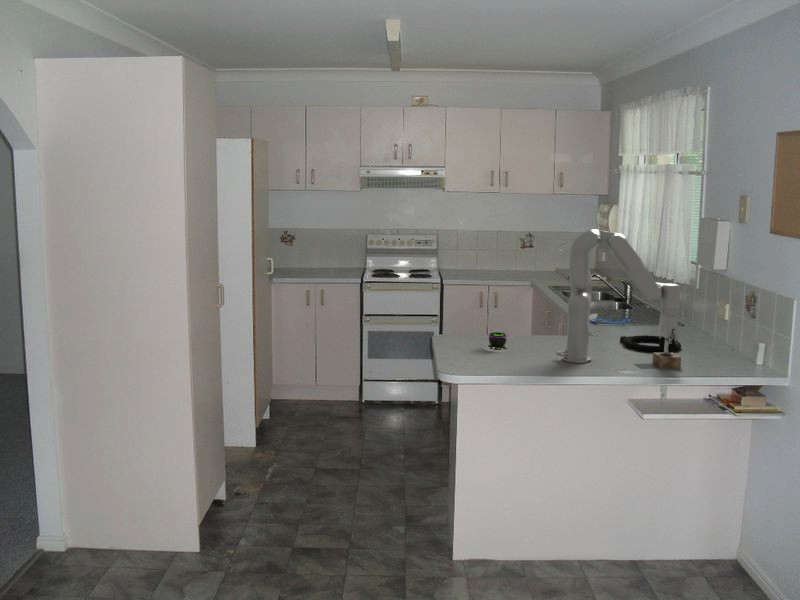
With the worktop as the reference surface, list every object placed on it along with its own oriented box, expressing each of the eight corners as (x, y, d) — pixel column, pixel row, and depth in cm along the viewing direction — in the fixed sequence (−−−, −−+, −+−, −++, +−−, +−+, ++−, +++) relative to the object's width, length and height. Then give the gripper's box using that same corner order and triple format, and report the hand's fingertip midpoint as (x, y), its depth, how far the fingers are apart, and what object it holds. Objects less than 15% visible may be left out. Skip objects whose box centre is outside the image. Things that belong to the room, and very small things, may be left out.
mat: (640, 369, 343) (640, 368, 343) (632, 364, 352) (633, 363, 352) (682, 369, 345) (682, 368, 345) (673, 364, 354) (673, 363, 354)
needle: (664, 366, 347) (667, 336, 344) (661, 364, 350) (664, 334, 347) (671, 366, 348) (673, 336, 345) (668, 364, 351) (670, 334, 348)
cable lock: (669, 349, 369) (609, 340, 388) (668, 357, 369) (608, 347, 388) (689, 339, 390) (632, 331, 409) (689, 347, 390) (631, 338, 409)
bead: (660, 368, 344) (661, 357, 343) (652, 363, 353) (653, 352, 352) (680, 368, 345) (681, 357, 344) (671, 363, 354) (672, 352, 353)
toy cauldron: (519, 351, 379) (519, 328, 377) (492, 354, 372) (493, 331, 370) (501, 344, 392) (502, 323, 390) (476, 347, 385) (476, 325, 383)
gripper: (653, 308, 353) (651, 345, 356) (670, 315, 336) (667, 354, 339) (669, 308, 354) (667, 345, 357) (686, 315, 337) (684, 354, 340)
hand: (667, 350), depth 348 cm, fingers open, 9 cm apart
